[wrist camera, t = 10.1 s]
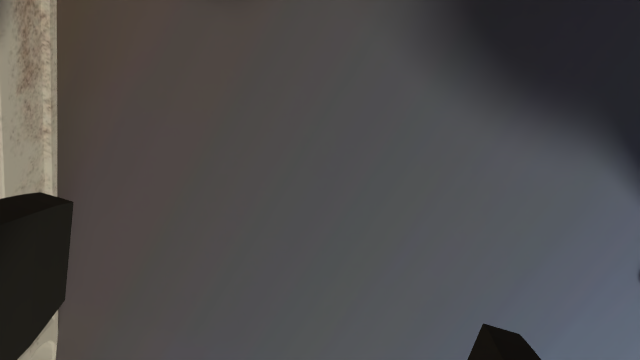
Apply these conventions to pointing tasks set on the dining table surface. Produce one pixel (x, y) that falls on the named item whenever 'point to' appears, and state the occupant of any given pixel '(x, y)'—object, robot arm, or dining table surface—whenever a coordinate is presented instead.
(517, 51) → the dining table surface
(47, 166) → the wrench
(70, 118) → the dining table surface
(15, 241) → the robot arm
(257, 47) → the dining table surface
